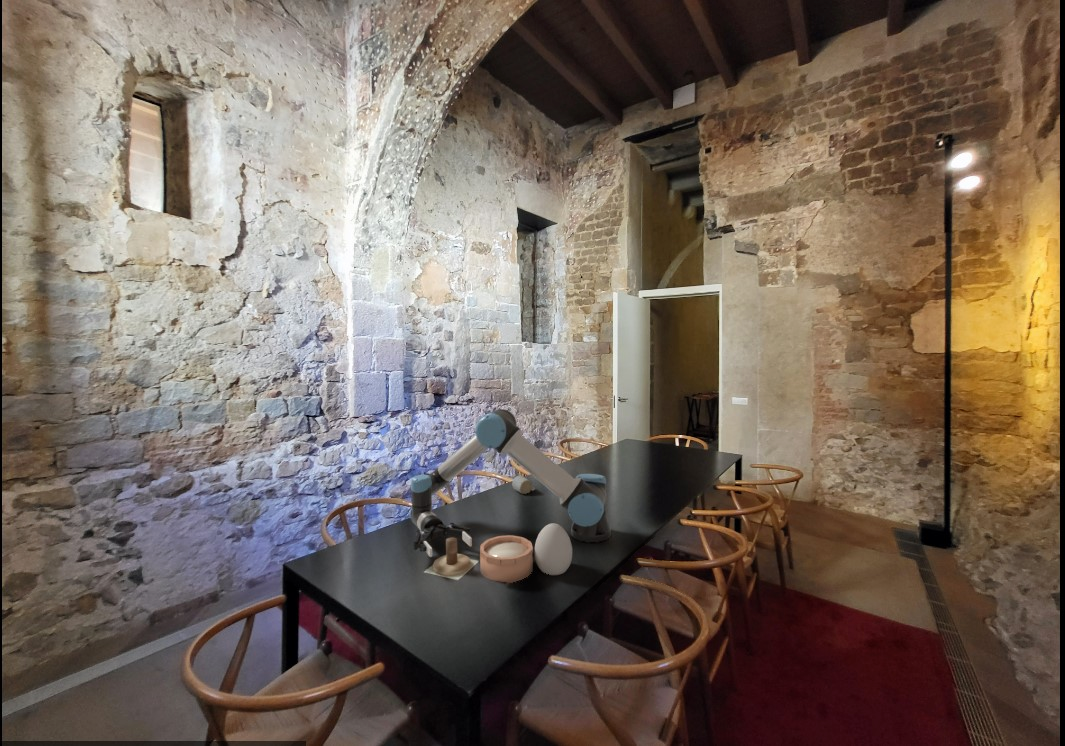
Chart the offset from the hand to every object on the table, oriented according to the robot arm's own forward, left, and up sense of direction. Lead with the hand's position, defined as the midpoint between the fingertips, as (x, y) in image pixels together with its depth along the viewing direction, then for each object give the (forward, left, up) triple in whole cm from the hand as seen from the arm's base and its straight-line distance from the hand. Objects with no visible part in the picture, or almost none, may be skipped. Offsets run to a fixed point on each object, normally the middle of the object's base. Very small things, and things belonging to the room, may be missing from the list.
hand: (451, 547), depth 144 cm
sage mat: (0, -1, -7) cm, 7 cm away
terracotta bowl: (-17, -7, -7) cm, 19 cm away
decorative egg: (-31, -13, -8) cm, 34 cm away
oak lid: (0, -1, -7) cm, 7 cm away
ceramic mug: (+10, -79, -8) cm, 80 cm away
